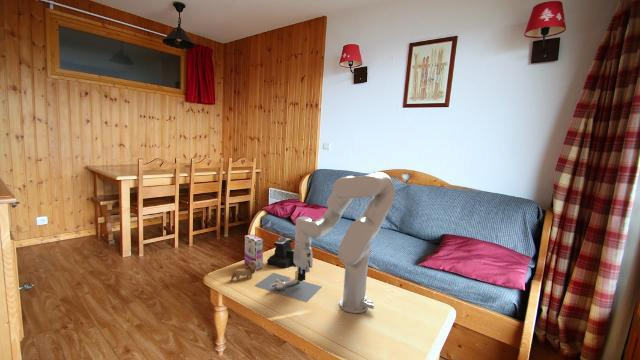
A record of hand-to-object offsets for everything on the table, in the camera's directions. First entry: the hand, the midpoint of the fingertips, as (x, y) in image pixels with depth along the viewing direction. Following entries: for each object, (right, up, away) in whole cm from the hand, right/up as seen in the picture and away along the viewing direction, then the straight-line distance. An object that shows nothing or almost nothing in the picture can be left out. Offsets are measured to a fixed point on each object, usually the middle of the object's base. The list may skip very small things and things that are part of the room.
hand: (301, 280), depth 150 cm
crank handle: (-7, -3, -1) cm, 8 cm away
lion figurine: (-29, -2, +5) cm, 29 cm away
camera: (-10, +1, +29) cm, 30 cm away
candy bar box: (-27, 0, +22) cm, 35 cm away
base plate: (-6, -4, 0) cm, 7 cm away
